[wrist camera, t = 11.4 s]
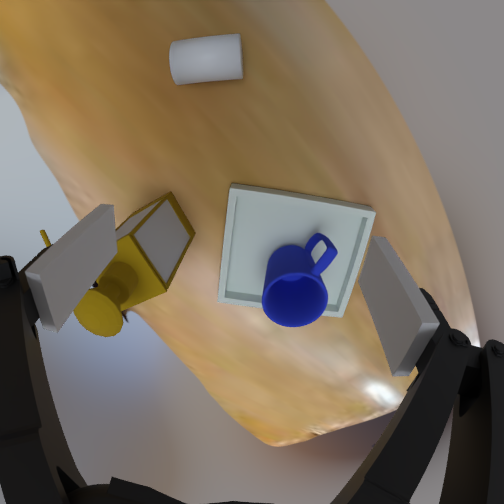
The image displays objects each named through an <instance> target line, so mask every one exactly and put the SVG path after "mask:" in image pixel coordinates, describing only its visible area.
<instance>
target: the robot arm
mask: <svg viewBox="0 0 504 504" xmlns="http://www.w3.org/2000/svg"><path fill="white" fill-rule="evenodd" d="M117 252H118V251H117V241H116V230H115V218H114V205H108V204H100V205H99V206H98V207H97V208H95V209H94V210H93V211H92V212H90V213H89V214H88V215H87V216H86V217H84V218H83V219H82V220H81V221H80V222H78V223H77V224H76V225H75V226H74V227H73V228H71V229H70V230H69V231H68V232H67V233H66V234H65V235H63V236H62V237H61V238H60V239H59V240H58V241H57V242H56V243H54V244H52V245H50V246H48V247H46V248H44V249H43V250H42V251H41V252H40V253H38V255H37V256H35V257H34V258H33V259H32V261H30V262H29V263H28V264H27V265H26V266H25V267H24V268H23V269H22V270H21V271H19V272H17V268H16V264H15V260H14V258H13V257H11V256H0V484H1V488H2V491H3V495H4V498H5V502H6V504H186V503H183V502H181V501H179V500H176V499H174V498H172V497H169V496H167V495H165V494H163V493H161V492H158V491H156V490H154V489H152V488H150V487H147V486H143V485H139V484H135V483H132V482H128V481H124V480H121V479H118V478H114V477H112V478H111V481H110V484H97V485H90V486H87V484H86V482H85V480H84V479H83V477H82V476H81V474H80V473H79V471H78V469H77V467H76V465H75V462H74V460H73V457H72V455H71V452H70V450H69V447H68V445H67V441H66V439H65V436H64V433H63V430H62V427H61V424H60V421H59V418H58V415H57V412H56V409H55V405H54V401H53V398H52V395H51V391H50V387H49V383H48V379H47V375H46V371H45V366H44V362H43V357H42V352H41V348H40V342H39V337H38V331H37V328H36V325H35V323H36V321H37V320H38V319H39V318H40V321H41V323H42V326H43V328H44V329H46V330H50V331H53V332H57V333H58V332H59V330H60V328H61V327H62V326H63V324H64V323H65V321H66V320H67V318H68V317H69V316H70V314H71V313H72V312H73V310H74V309H75V307H76V306H77V305H78V303H79V302H80V300H81V299H82V298H83V296H84V295H85V294H86V292H87V291H88V290H89V288H90V287H91V286H92V284H93V283H94V282H95V280H96V279H97V278H98V276H99V275H100V274H101V273H102V271H103V270H104V269H105V267H106V266H107V265H108V264H109V262H110V261H111V260H112V259H113V257H114V256H115V255H116V254H117ZM358 283H359V285H360V288H361V290H362V293H363V295H364V298H365V300H366V303H367V305H368V308H369V311H370V313H371V316H372V319H373V321H374V324H375V327H376V330H377V332H378V335H379V338H380V341H381V343H382V346H383V349H384V352H385V355H386V358H387V361H388V364H389V367H390V370H391V373H392V376H409V375H410V373H411V372H412V370H413V369H414V367H415V365H416V367H417V370H418V372H419V373H418V374H417V376H416V377H415V379H414V380H413V382H412V383H411V385H410V386H409V388H408V389H407V391H408V392H407V394H406V396H405V397H404V399H403V401H402V403H401V404H400V406H399V408H398V409H397V411H396V413H395V415H394V416H393V418H392V419H391V421H390V423H389V424H388V426H387V427H386V429H385V431H384V432H383V434H382V435H381V437H380V438H379V440H378V441H377V443H376V444H375V446H374V447H373V449H372V450H371V452H370V453H369V455H368V456H367V457H366V459H365V460H364V461H363V463H362V464H361V466H360V467H359V468H358V470H357V471H356V472H355V474H354V475H353V476H352V478H351V479H350V480H349V481H348V483H347V484H346V485H345V487H344V488H343V489H342V490H341V492H340V493H339V494H338V495H337V496H336V498H335V499H334V500H333V501H332V502H331V503H330V504H410V503H409V502H410V499H411V497H412V495H413V493H414V491H415V489H416V488H417V486H418V484H419V482H420V480H421V478H422V476H423V474H424V472H425V470H426V468H427V466H428V464H429V462H430V460H431V458H432V456H433V454H434V452H435V449H436V447H437V445H438V443H439V440H440V438H441V436H442V433H443V431H444V428H445V426H446V423H447V421H448V418H449V415H450V413H451V410H452V408H453V405H454V408H453V421H452V431H451V439H450V447H449V454H448V461H447V467H446V473H445V478H444V483H443V488H442V493H441V497H440V502H439V504H504V344H503V343H501V342H499V341H496V340H489V341H487V343H486V344H485V346H484V347H483V348H480V347H476V346H472V345H471V342H470V340H469V338H468V337H467V336H466V335H465V334H464V333H462V332H461V331H459V330H457V329H452V328H450V326H449V324H448V322H447V321H446V319H445V317H444V316H443V314H442V312H441V311H439V308H438V306H437V304H436V303H435V301H434V300H433V298H432V296H431V295H430V294H429V293H428V292H426V291H425V290H424V289H423V288H418V286H417V284H416V283H415V281H414V280H413V278H412V276H411V275H410V273H409V272H408V270H407V269H406V267H405V266H404V264H403V263H402V261H401V260H400V258H399V257H398V255H397V254H396V252H395V251H394V249H393V248H392V246H391V245H390V243H389V242H388V240H387V239H386V238H385V237H378V236H372V238H371V242H370V245H369V248H368V252H367V255H366V258H365V261H364V265H363V268H362V271H361V274H360V277H359V280H358ZM209 504H271V503H249V502H238V501H230V502H220V503H209Z"/></svg>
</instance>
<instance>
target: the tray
mask: <svg viewBox="0 0 504 504" xmlns="http://www.w3.org/2000/svg"><path fill="white" fill-rule="evenodd" d="M375 214H376V212H375V211H374V210H373V209H372V207H371V206H366V205H361V204H356V203H351V202H346V201H340V200H335V199H330V198H324V197H319V196H313V195H307V194H301V193H295V192H289V191H283V190H276V189H270V188H263V187H256V186H249V185H242V184H235V183H232V184H231V186H230V191H229V199H228V208H227V216H226V225H225V234H224V243H223V252H222V262H221V271H220V281H219V291H218V301H217V302H221V303H228V304H235V305H242V306H249V307H256V308H263V307H262V294H263V287H264V281H265V275H266V269H267V264H268V261H269V258H270V257H271V255H272V254H273V253H274V252H275V251H276V250H277V249H279V248H281V247H283V246H287V245H296V246H299V247H302V248H304V249H305V246H306V244H307V242H308V240H309V239H310V238H311V237H312V236H313V235H314V234H316V233H321V234H323V235H325V236H326V237H328V238H329V239H330V240H331V242H332V243H333V244H334V246H335V248H336V249H337V251H338V254H337V256H336V257H335V259H334V260H333V261H332V262H331V264H330V265H329V266H328V267H327V268H326V269H325V270H324V271H323V272H322V273H321V274H320V275H321V277H322V280H323V282H324V284H325V287H326V289H327V292H328V303H327V307H326V309H325V311H324V312H323V314H322V316H332V317H343V314H344V311H345V309H346V306H347V303H348V300H349V297H350V294H351V292H352V289H353V286H354V283H355V280H356V277H357V274H358V271H359V268H360V265H361V261H362V258H363V255H364V252H365V249H366V245H367V242H368V239H369V235H370V232H371V229H372V225H373V222H374V218H375ZM326 249H327V247H326V245H325V243H324V241H323V240H321V241H320V242H318V243H317V245H316V246H315V247H314V249H313V250H312V252H311V256H312V258H313V259H314V262H315V264H316V262H317V261H318V260H319V259H320V257H321V256H322V255H323V253H324V252H325V251H326Z"/></svg>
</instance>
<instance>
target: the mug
mask: <svg viewBox="0 0 504 504" xmlns="http://www.w3.org/2000/svg"><path fill="white" fill-rule="evenodd" d="M321 240H323V241H324V243H325V245H326V247H327V249H326V251H325V252H324V253H323V255H322V256H321V257H320V259H319V260H318V261H317V262H316V264H315V262H314V259H313V258H312V256H311V252H312V250H313V249H314V247H315V246H316V245H317V243H318V242H320V241H321ZM337 254H338V251H337V249H336V248H335V246H334V244H333V243H332V242H331V240H330V239H329V238H328V237H326V236H325V235H323V234H321V233H316V234H314V235H313V236H312V237H311V238H310V239H309V240H308V242H307V244H306V246H305V249H304V248H302V247H299V246H296V245H287V246H283V247H281V248H279V249H277V250H276V251H275V252H274V253H273V254H272V255H271V257H270V258H269V261H268V264H267V269H266V275H265V281H264V287H263V294H262V307H263V310H264V312H265V314H266V315H267V316H268V317H269V318H270V319H271V320H272V321H273V322H275V323H277V324H279V325H282V326H286V327H300V326H304V325H307V324H310V323H312V322H313V321H315V320H316V319H318V318H319V317H320V316H321V315H322V314H323V312H324V311H325V309H326V307H327V303H328V292H327V289H326V287H325V284H324V282H323V280H322V277H321V275H320V274H321V273H322V272H323V271H324V270H325V269H326V268H327V267H328V266H329V265H330V264H331V262H332V261H333V260H334V259H335V257H336V256H337Z"/></svg>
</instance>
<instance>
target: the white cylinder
mask: <svg viewBox="0 0 504 504" xmlns="http://www.w3.org/2000/svg"><path fill="white" fill-rule="evenodd" d="M169 62H170V70H171V74H172V78H173V80H174V82H175V84H176V85H184V84H192V83H200V82H210V81H221V80H234V79H243V53H242V43H241V36H240V33H239V34H226V35H216V36H207V37H199V38H191V39H184V40H178V41H173V42H172V43H171V46H170V52H169Z"/></svg>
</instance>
